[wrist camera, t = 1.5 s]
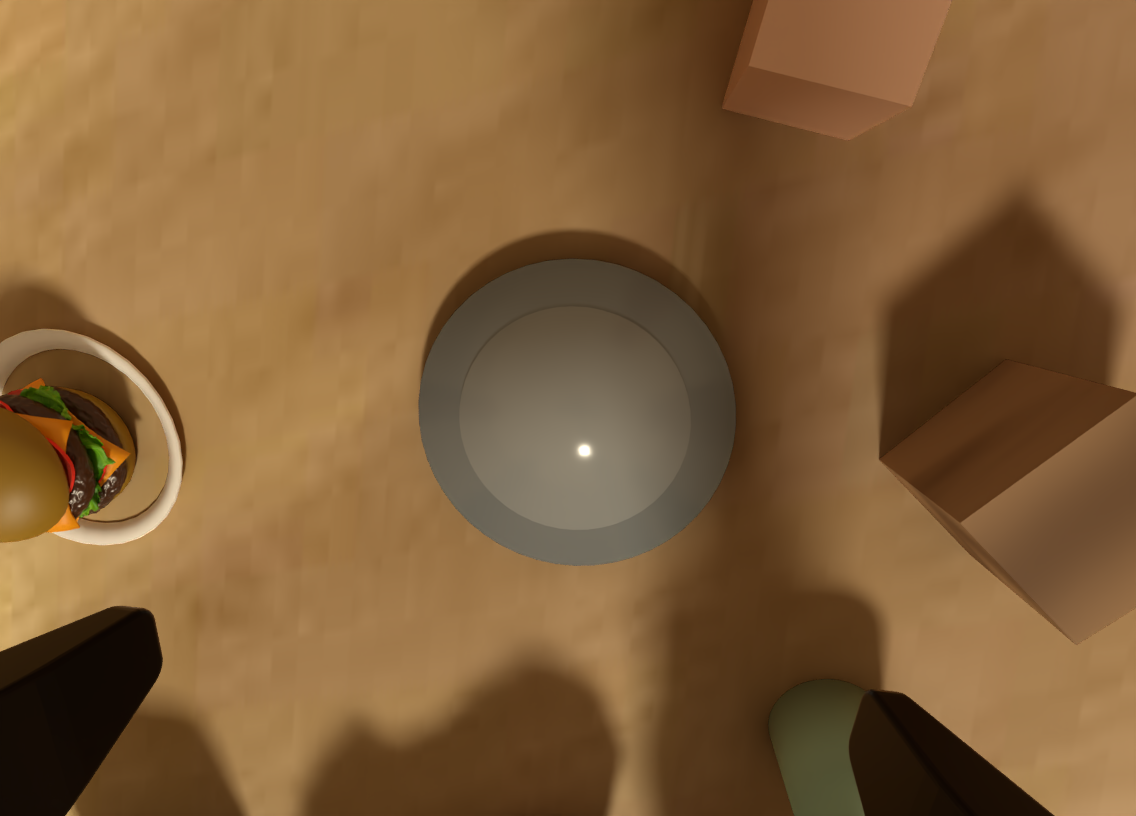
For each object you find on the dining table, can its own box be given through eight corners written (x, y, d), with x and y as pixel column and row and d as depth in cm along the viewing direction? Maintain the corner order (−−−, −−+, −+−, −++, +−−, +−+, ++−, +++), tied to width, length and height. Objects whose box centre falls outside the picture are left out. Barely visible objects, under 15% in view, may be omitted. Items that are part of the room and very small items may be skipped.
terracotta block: (899, -6, 16) (985, -90, 12) (847, 141, 17) (912, 106, 13) (764, -39, 16) (808, -133, 12) (720, 108, 17) (748, 65, 14)
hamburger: (123, 230, 21) (-48, 221, 15) (291, 507, 23) (193, 580, 18) (-95, 361, 23) (-308, 392, 18) (78, 600, 25) (-66, 691, 20)
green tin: (906, 730, 22) (965, 828, 18) (817, 786, 23) (855, 891, 19) (832, 658, 22) (877, 744, 18) (745, 720, 23) (769, 813, 19)
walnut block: (1097, 462, 19) (1259, 531, 14) (968, 553, 20) (1076, 645, 15) (1004, 358, 18) (1139, 393, 14) (877, 458, 20) (960, 523, 15)
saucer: (798, 419, 19) (807, 427, 19) (577, 606, 22) (575, 620, 21) (572, 186, 18) (569, 182, 17) (367, 414, 21) (356, 421, 20)
